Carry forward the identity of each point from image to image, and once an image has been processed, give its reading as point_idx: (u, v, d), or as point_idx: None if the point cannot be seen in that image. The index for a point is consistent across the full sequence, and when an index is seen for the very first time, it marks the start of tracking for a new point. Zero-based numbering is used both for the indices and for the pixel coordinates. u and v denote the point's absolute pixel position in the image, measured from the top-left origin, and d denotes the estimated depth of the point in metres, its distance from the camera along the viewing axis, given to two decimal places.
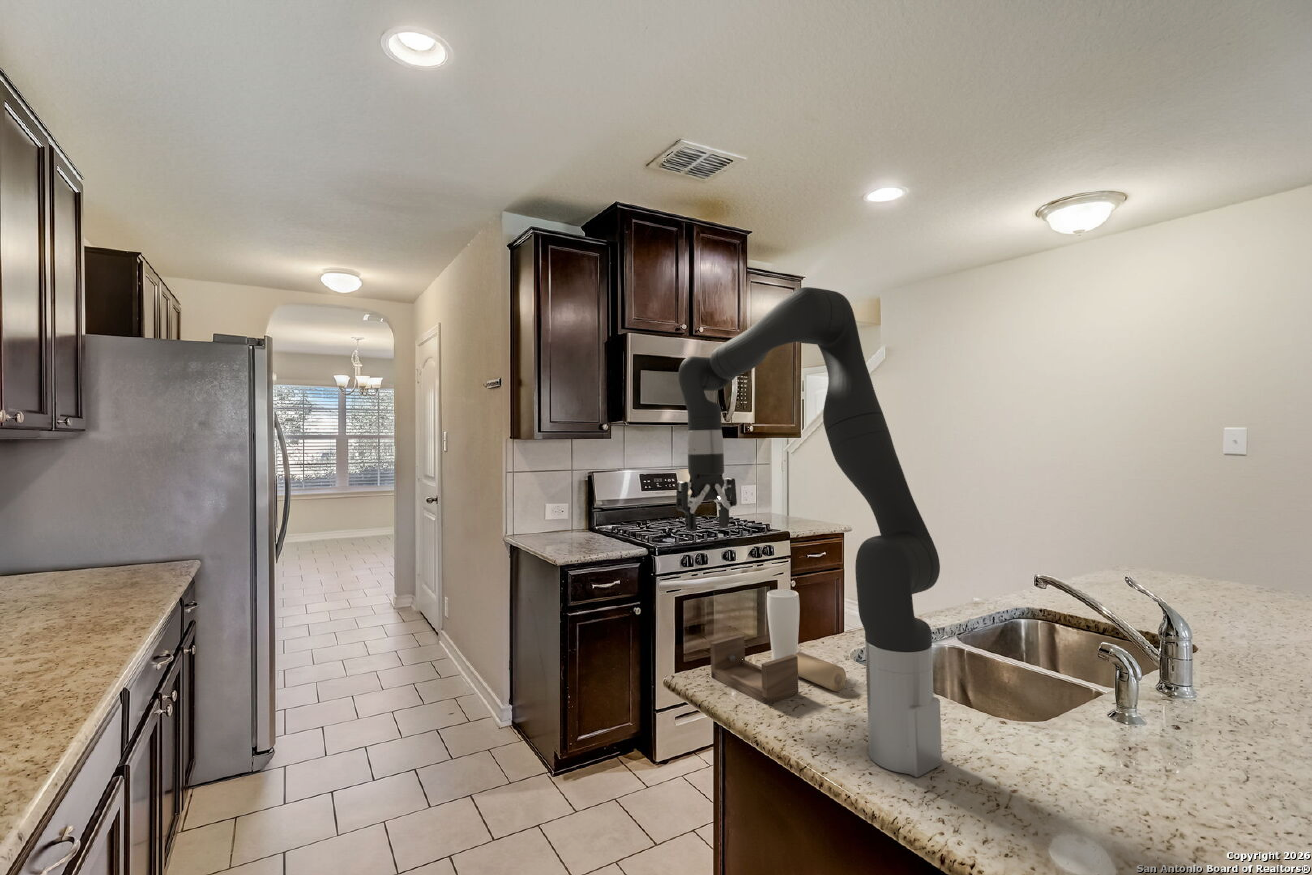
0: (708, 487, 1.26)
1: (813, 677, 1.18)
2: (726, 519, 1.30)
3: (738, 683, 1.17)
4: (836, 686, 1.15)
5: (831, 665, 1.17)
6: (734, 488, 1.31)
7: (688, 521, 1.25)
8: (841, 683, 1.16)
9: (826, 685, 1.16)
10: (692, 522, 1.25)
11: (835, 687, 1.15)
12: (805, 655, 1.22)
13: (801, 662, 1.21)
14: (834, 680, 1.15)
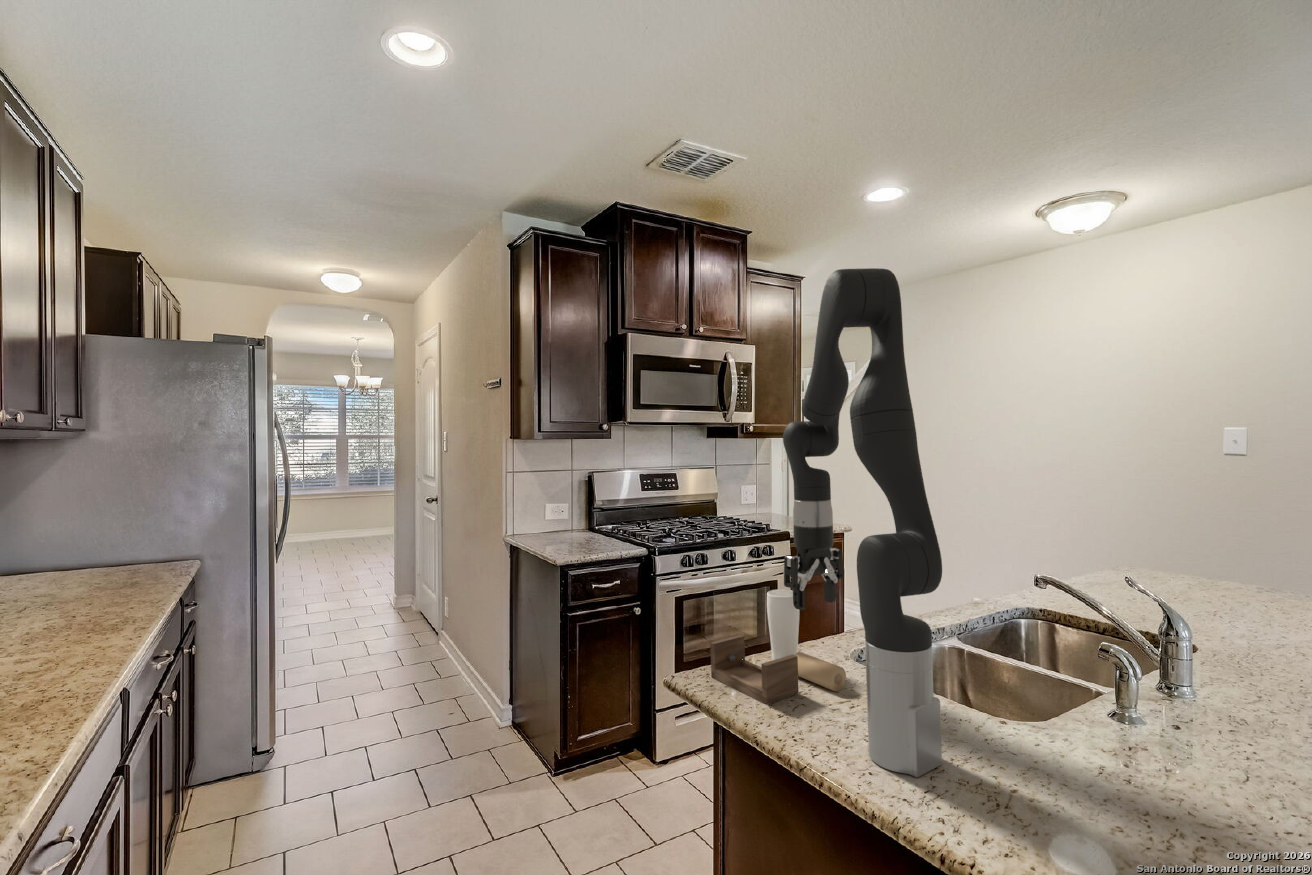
0: (818, 562, 1.18)
1: (813, 677, 1.18)
2: (833, 594, 1.21)
3: (738, 683, 1.17)
4: (836, 686, 1.15)
5: (831, 665, 1.17)
6: (841, 560, 1.23)
7: (797, 599, 1.17)
8: (841, 683, 1.16)
9: (826, 685, 1.16)
10: (801, 600, 1.17)
11: (835, 687, 1.15)
12: (805, 655, 1.22)
13: (801, 662, 1.21)
14: (834, 680, 1.15)
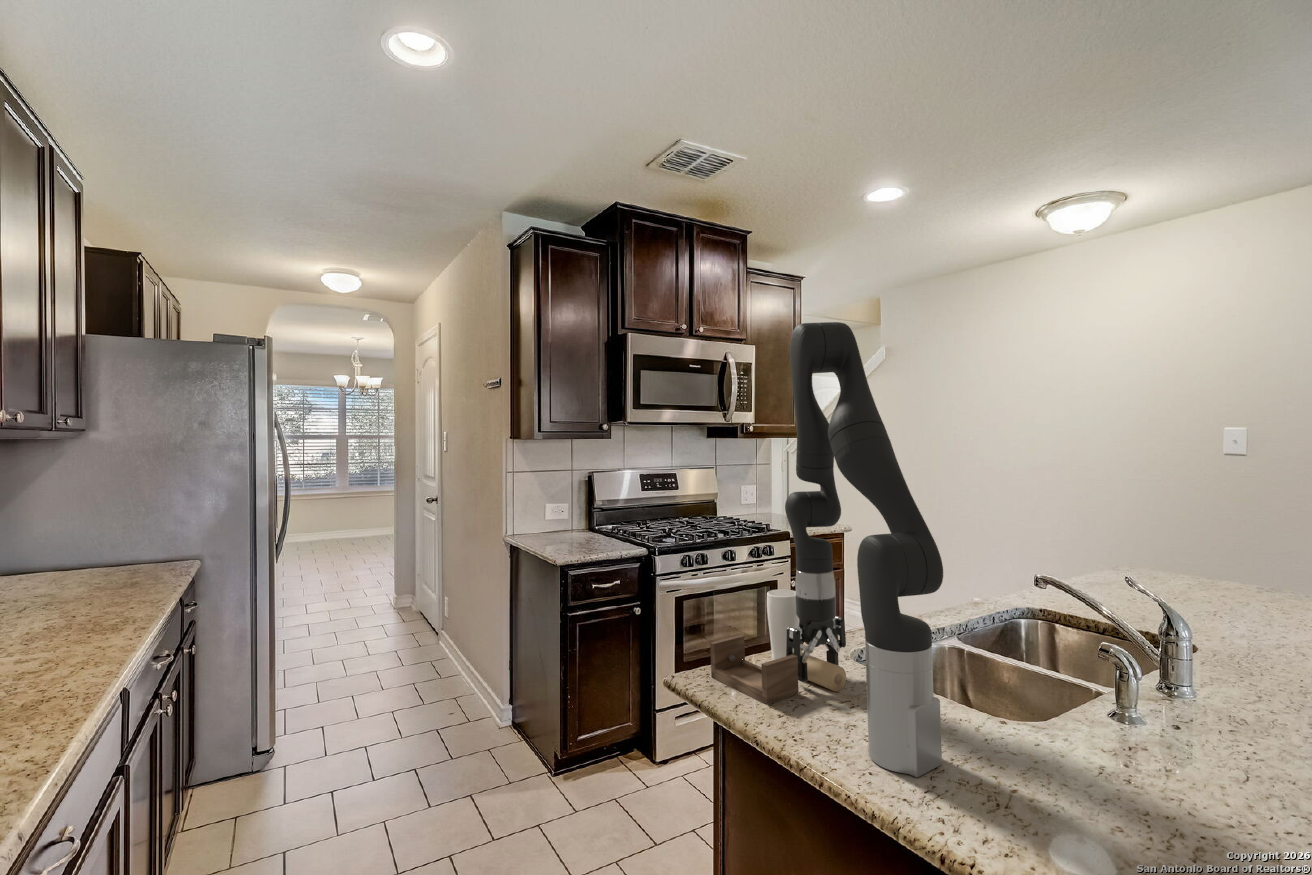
0: (820, 633, 1.18)
1: (813, 677, 1.18)
2: (836, 663, 1.21)
3: (738, 683, 1.17)
4: (836, 686, 1.15)
5: (831, 665, 1.17)
6: (843, 629, 1.23)
7: (799, 671, 1.17)
8: (841, 683, 1.16)
9: (826, 685, 1.16)
10: (804, 672, 1.17)
11: (835, 687, 1.15)
12: None
13: None
14: (834, 680, 1.15)
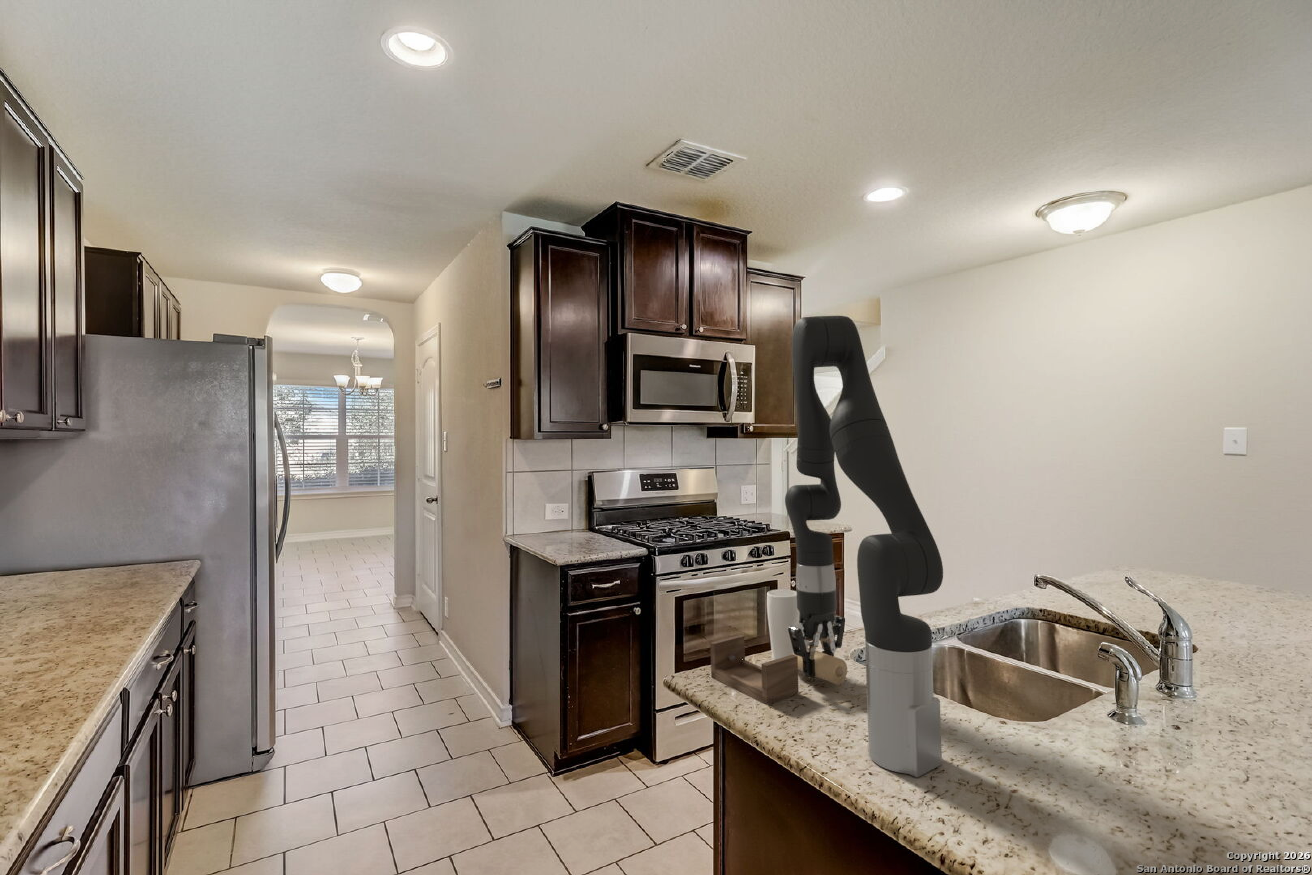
0: (821, 626, 1.18)
1: None
2: None
3: (738, 683, 1.17)
4: (837, 679, 1.15)
5: (832, 657, 1.16)
6: (842, 629, 1.22)
7: (807, 667, 1.17)
8: (842, 676, 1.16)
9: (827, 678, 1.15)
10: (811, 668, 1.17)
11: (836, 680, 1.15)
12: None
13: None
14: (836, 673, 1.15)
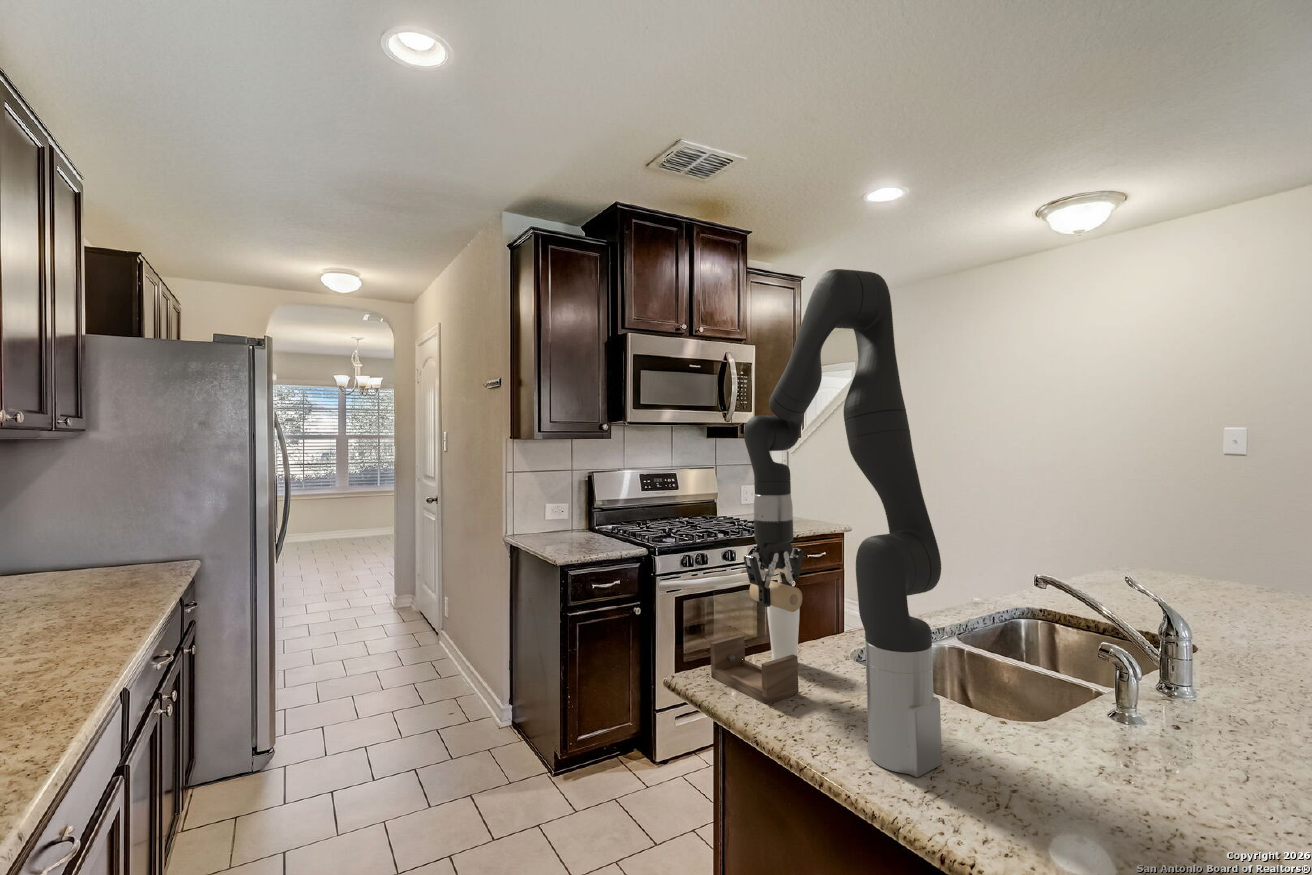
0: (777, 555, 1.18)
1: (770, 599, 1.18)
2: None
3: (738, 683, 1.17)
4: (791, 606, 1.16)
5: (787, 586, 1.17)
6: (800, 560, 1.22)
7: (762, 596, 1.18)
8: (797, 604, 1.16)
9: (781, 606, 1.16)
10: (766, 597, 1.18)
11: (790, 607, 1.15)
12: None
13: None
14: (790, 601, 1.15)
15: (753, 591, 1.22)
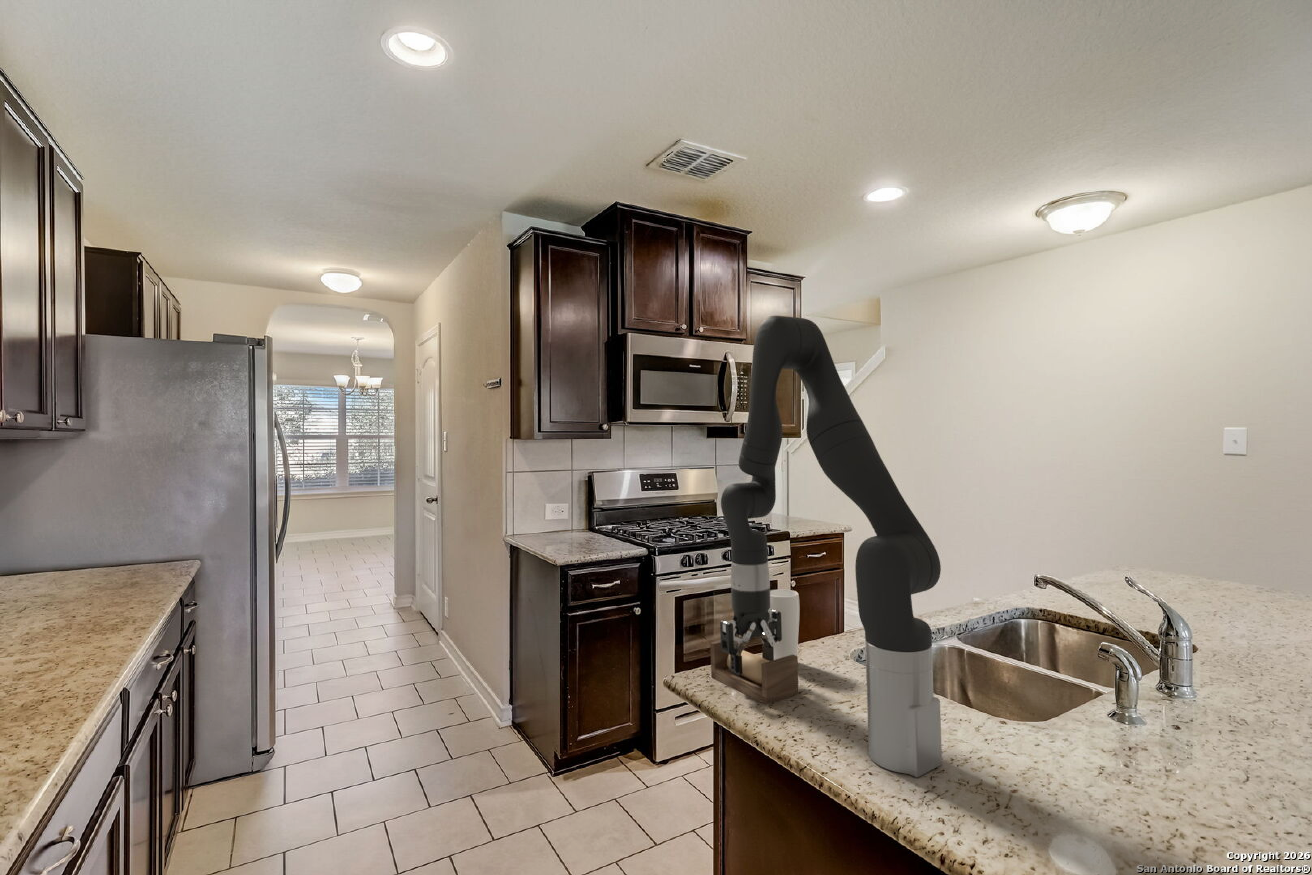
0: (754, 625, 1.17)
1: (747, 673, 1.17)
2: (771, 657, 1.21)
3: (738, 683, 1.17)
4: None
5: (764, 661, 1.16)
6: (779, 623, 1.22)
7: (734, 664, 1.16)
8: None
9: (758, 681, 1.15)
10: (738, 665, 1.16)
11: None
12: None
13: None
14: None
15: None
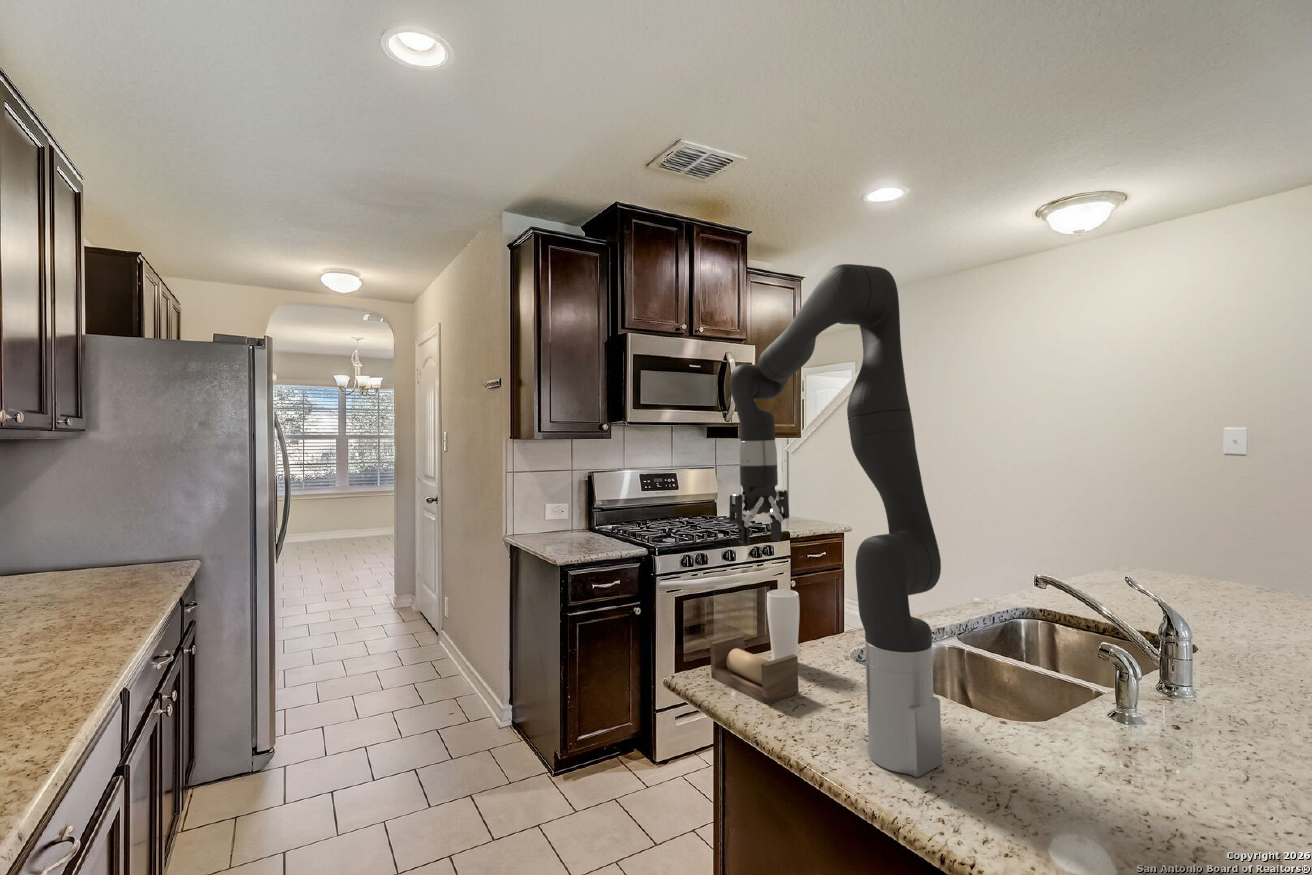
0: (762, 500, 1.22)
1: (747, 674, 1.17)
2: (779, 532, 1.25)
3: (738, 683, 1.17)
4: None
5: (763, 661, 1.16)
6: (786, 501, 1.27)
7: (742, 535, 1.21)
8: None
9: (758, 682, 1.15)
10: (746, 536, 1.21)
11: None
12: (740, 651, 1.22)
13: (735, 658, 1.20)
14: None
15: (730, 664, 1.21)
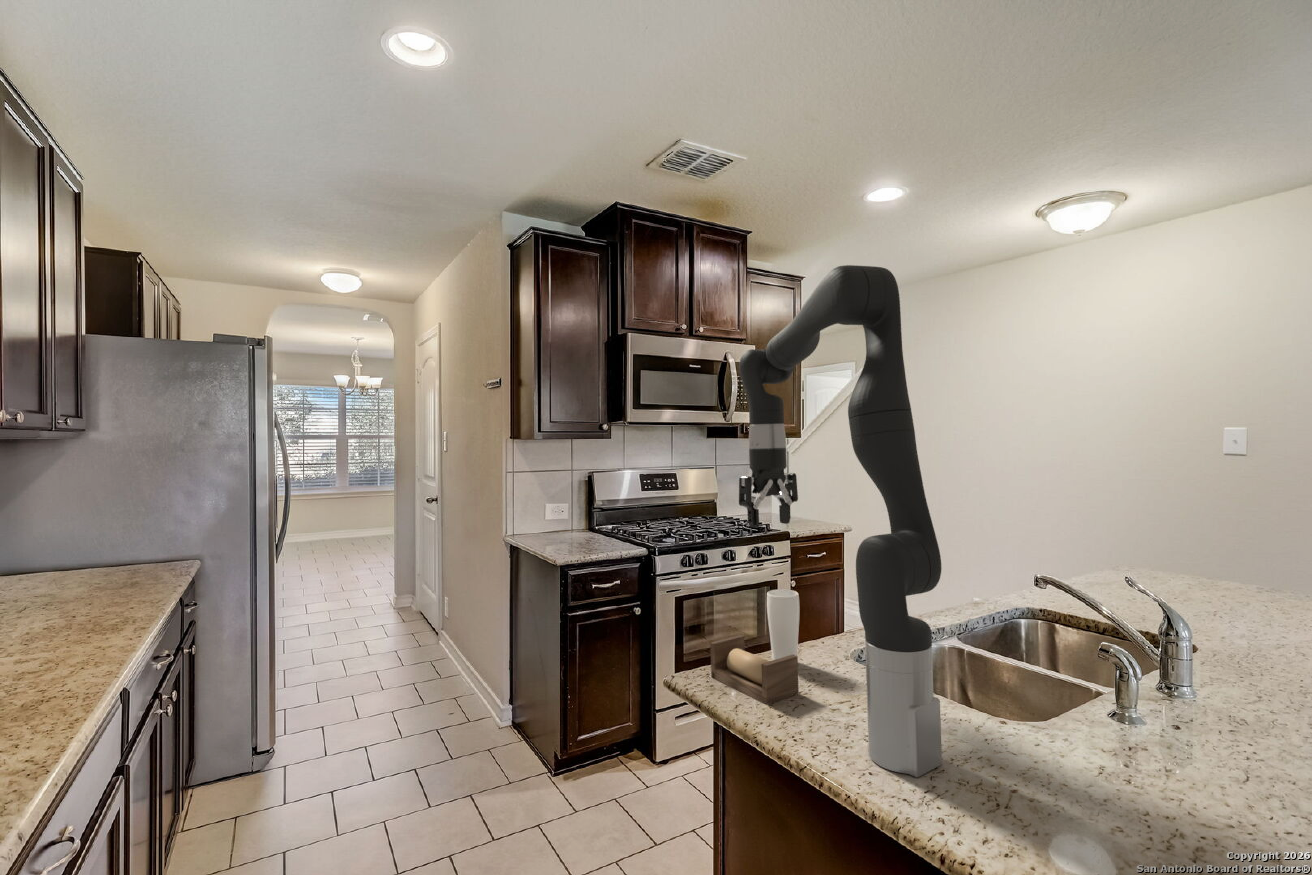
0: (771, 482, 1.24)
1: (747, 674, 1.17)
2: (788, 515, 1.27)
3: (738, 683, 1.17)
4: None
5: (764, 661, 1.16)
6: (795, 484, 1.29)
7: (751, 517, 1.23)
8: None
9: (758, 682, 1.15)
10: (755, 518, 1.23)
11: None
12: (741, 651, 1.22)
13: (736, 658, 1.20)
14: None
15: (730, 663, 1.21)
